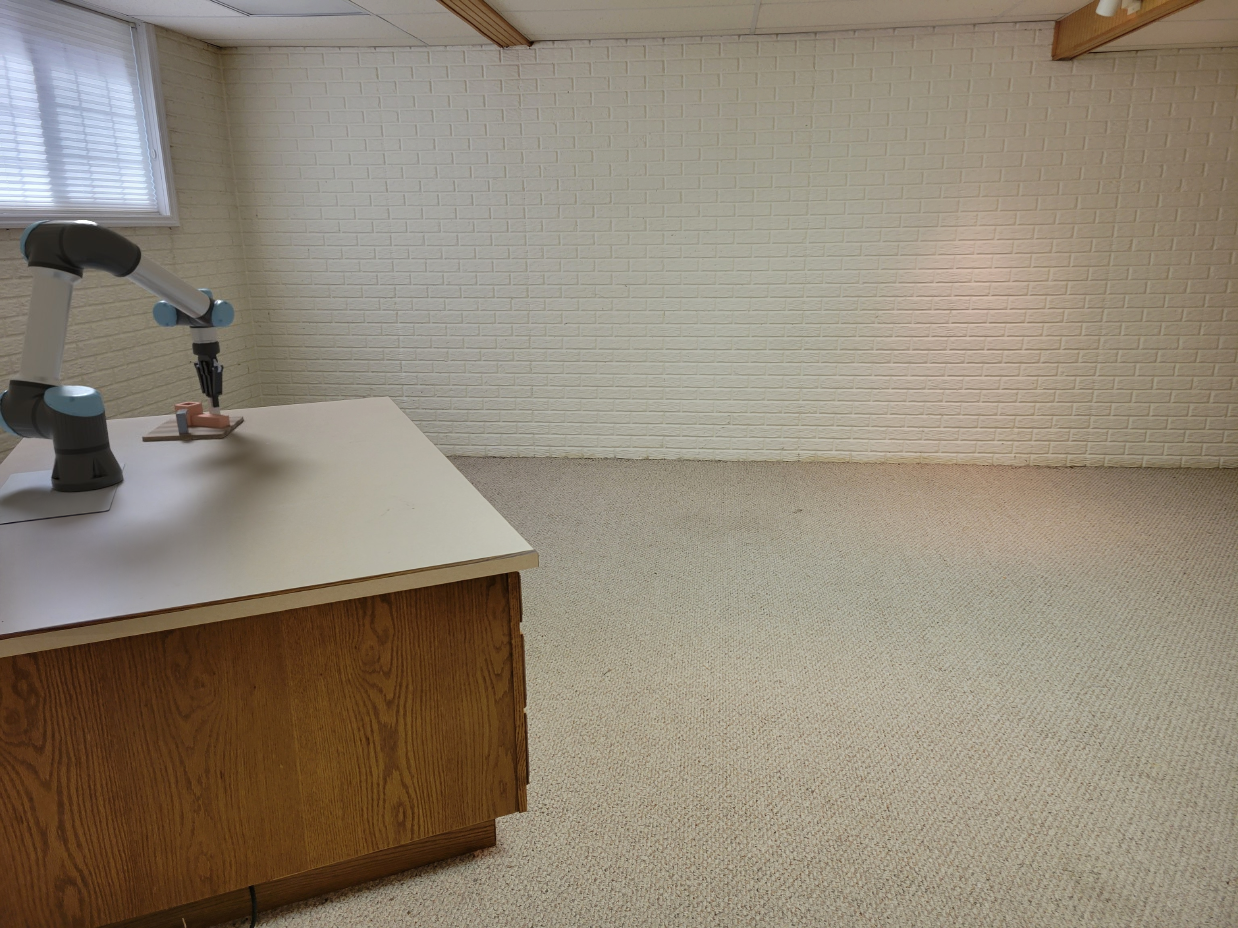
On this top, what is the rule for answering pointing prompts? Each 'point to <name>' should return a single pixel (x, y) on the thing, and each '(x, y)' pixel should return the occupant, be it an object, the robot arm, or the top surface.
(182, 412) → the bracket
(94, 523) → the top surface
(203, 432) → the board
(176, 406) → the link
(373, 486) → the top surface
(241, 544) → the top surface
